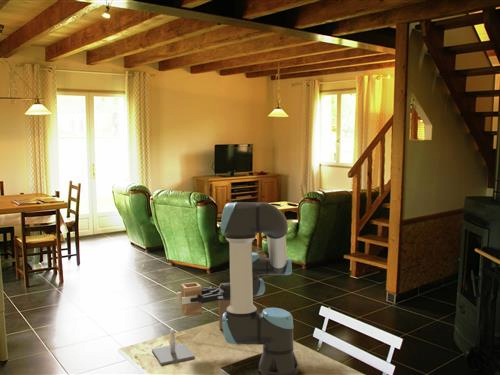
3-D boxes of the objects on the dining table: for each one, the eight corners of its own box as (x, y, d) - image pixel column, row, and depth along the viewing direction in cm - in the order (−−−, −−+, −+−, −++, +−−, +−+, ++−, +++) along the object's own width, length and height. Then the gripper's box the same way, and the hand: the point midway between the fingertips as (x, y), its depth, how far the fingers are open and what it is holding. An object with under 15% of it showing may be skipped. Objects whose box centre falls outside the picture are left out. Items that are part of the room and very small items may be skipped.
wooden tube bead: (202, 314, 203) (201, 286, 202) (186, 316, 200) (185, 288, 200) (197, 309, 210) (196, 282, 209) (181, 311, 207) (180, 284, 206)
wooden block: (240, 329, 228) (239, 288, 226) (219, 330, 228) (218, 288, 226) (241, 322, 238) (240, 282, 236) (220, 322, 238) (219, 282, 236)
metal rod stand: (194, 358, 197) (194, 332, 196) (161, 365, 191) (160, 338, 190) (183, 345, 211) (182, 320, 210) (151, 351, 205) (151, 326, 204)
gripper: (239, 305, 203) (186, 314, 194) (222, 293, 221) (173, 300, 212) (239, 288, 202) (186, 295, 193) (222, 277, 220) (173, 283, 211)
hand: (179, 298), depth 202 cm, fingers closed on wooden tube bead, 7 cm apart
